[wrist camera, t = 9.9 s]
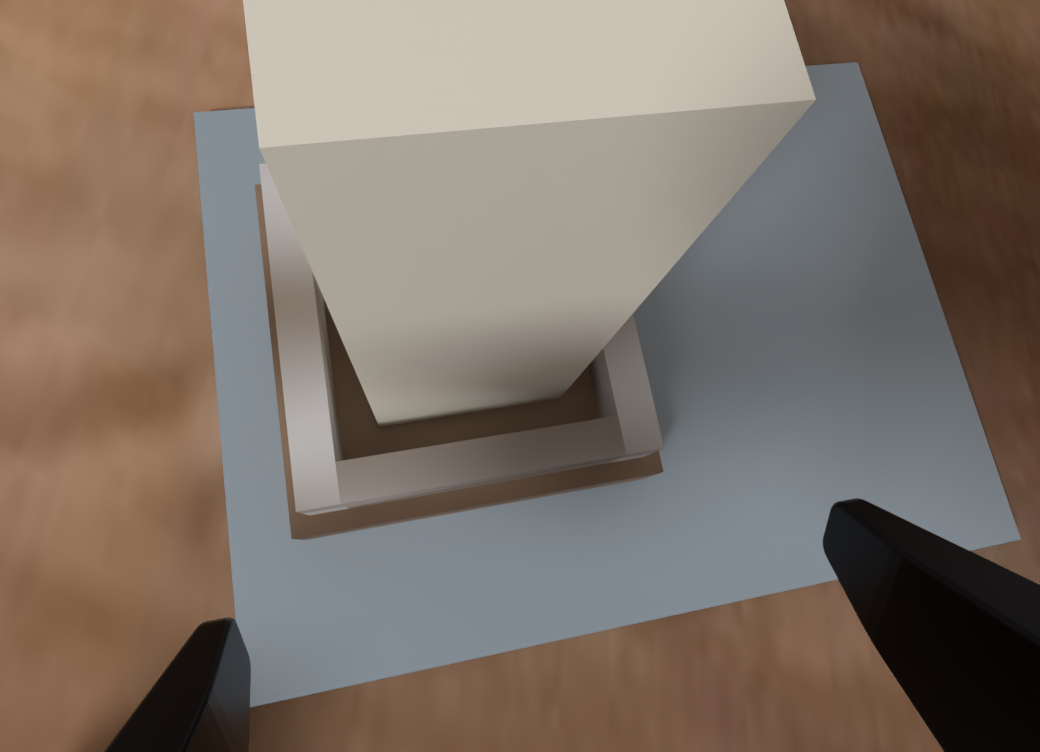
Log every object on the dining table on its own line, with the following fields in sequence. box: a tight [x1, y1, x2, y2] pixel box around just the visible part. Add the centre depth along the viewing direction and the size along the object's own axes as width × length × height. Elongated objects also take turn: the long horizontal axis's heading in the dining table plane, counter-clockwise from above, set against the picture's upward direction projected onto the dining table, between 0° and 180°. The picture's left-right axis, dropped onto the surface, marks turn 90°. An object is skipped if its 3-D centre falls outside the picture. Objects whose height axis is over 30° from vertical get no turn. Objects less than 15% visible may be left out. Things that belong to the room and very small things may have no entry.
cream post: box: [243, 0, 816, 427], centre depth 13 cm, size 5×5×13 cm
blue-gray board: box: [194, 62, 1021, 707], centre depth 22 cm, size 18×24×1 cm
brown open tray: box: [255, 163, 664, 540], centre depth 19 cm, size 10×10×4 cm
